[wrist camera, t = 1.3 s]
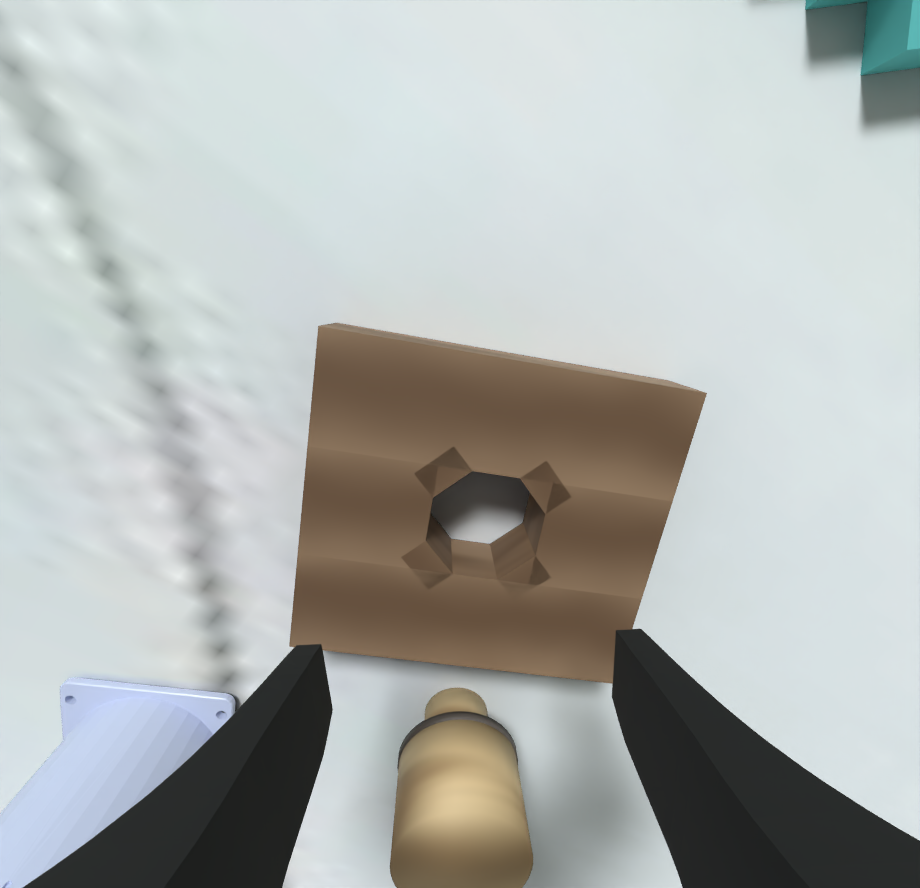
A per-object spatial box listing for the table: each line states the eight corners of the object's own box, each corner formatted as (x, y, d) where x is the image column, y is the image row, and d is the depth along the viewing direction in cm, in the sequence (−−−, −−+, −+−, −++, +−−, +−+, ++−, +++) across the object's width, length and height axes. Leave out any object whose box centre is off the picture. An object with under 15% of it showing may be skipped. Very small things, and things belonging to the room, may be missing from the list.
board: (593, 637, 24) (614, 683, 21) (308, 602, 23) (289, 646, 20) (668, 380, 20) (706, 393, 17) (336, 322, 19) (318, 326, 16)
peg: (497, 759, 26) (518, 919, 19) (395, 749, 25) (379, 910, 18) (518, 675, 24) (548, 817, 18) (410, 663, 24) (399, 804, 17)
